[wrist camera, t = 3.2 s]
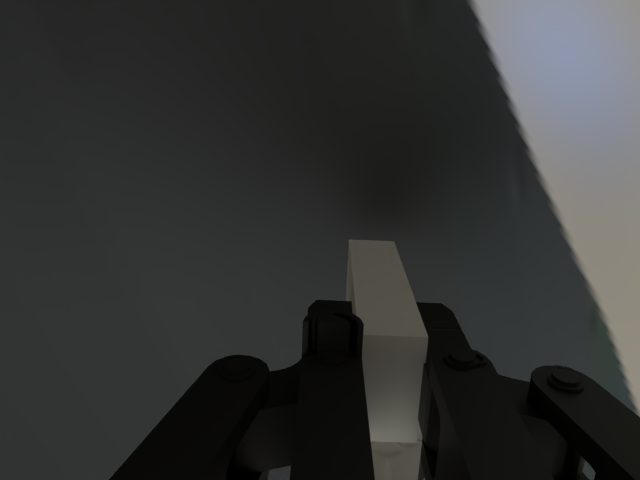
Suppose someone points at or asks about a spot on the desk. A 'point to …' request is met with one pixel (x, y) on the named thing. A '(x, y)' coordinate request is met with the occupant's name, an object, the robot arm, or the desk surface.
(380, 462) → the white cup
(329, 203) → the desk surface
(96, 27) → the desk surface
